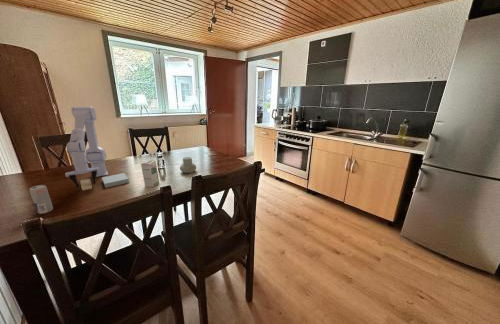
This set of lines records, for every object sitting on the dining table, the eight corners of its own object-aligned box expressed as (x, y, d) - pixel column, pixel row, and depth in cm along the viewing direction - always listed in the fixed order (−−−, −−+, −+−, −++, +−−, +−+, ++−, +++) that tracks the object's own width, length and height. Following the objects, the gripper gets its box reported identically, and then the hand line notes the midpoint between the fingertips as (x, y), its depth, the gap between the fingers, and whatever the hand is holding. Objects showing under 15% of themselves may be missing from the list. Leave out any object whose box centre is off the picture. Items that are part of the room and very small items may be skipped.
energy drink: (44, 208, 96) (36, 184, 92) (56, 207, 96) (49, 184, 92) (34, 214, 90) (24, 190, 87) (46, 213, 91) (38, 189, 87)
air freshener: (185, 175, 136) (184, 161, 133) (178, 172, 141) (176, 158, 137) (198, 170, 144) (197, 157, 141) (191, 168, 149) (190, 155, 146)
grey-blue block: (103, 181, 125) (102, 177, 125) (125, 177, 133) (124, 172, 132) (105, 188, 117) (104, 183, 116) (129, 183, 124) (128, 178, 123)
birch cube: (82, 187, 116) (80, 180, 115) (91, 185, 119) (90, 178, 118) (82, 190, 113) (80, 183, 112) (92, 188, 116) (90, 181, 114)
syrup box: (153, 187, 118) (149, 163, 114) (144, 186, 119) (140, 162, 115) (159, 183, 123) (156, 160, 119) (150, 182, 125) (147, 159, 120)
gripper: (62, 167, 104) (69, 191, 108) (97, 162, 113) (102, 184, 117) (63, 164, 109) (69, 187, 113) (96, 159, 118) (101, 180, 122)
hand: (86, 185), depth 116 cm, fingers open, 7 cm apart
